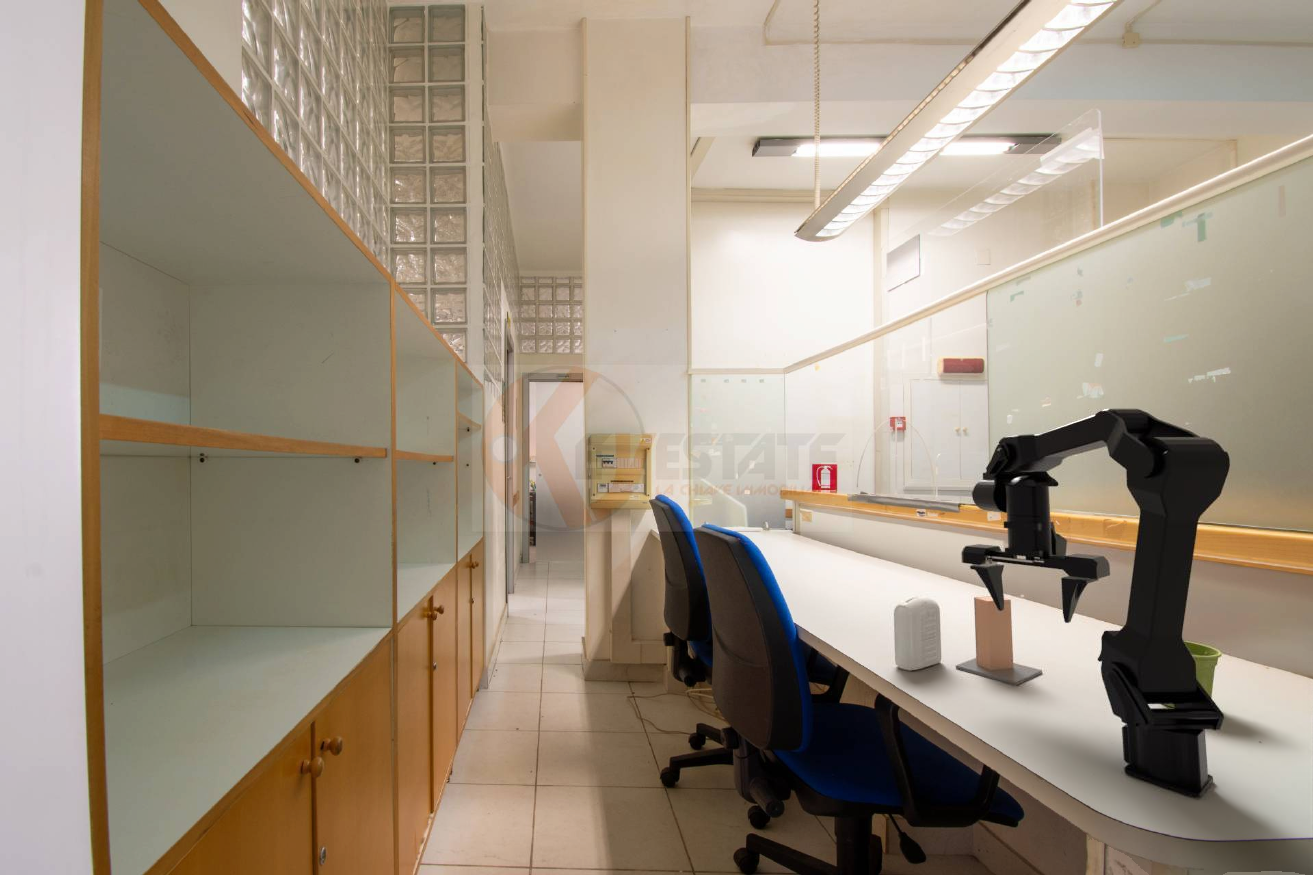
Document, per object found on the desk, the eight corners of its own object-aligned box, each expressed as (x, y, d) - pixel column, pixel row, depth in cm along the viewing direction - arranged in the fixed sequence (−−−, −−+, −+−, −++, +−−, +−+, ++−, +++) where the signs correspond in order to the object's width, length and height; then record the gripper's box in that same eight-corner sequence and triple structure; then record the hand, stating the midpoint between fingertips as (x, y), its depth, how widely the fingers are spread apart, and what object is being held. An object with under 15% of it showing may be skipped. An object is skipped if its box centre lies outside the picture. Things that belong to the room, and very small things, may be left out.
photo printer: (923, 656, 108) (921, 591, 109) (945, 662, 104) (942, 595, 105) (891, 666, 102) (889, 598, 103) (913, 673, 99) (910, 602, 99)
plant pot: (1197, 721, 79) (1193, 658, 80) (1126, 696, 88) (1122, 639, 89) (1242, 713, 82) (1237, 652, 82) (1168, 689, 91) (1164, 635, 91)
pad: (1042, 672, 99) (1041, 669, 99) (1016, 685, 93) (1016, 682, 93) (982, 657, 107) (982, 655, 107) (955, 668, 101) (955, 665, 101)
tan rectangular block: (1013, 667, 100) (1010, 599, 101) (990, 670, 99) (987, 601, 99) (999, 662, 103) (996, 595, 104) (976, 664, 102) (974, 597, 102)
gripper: (1119, 516, 85) (1126, 621, 84) (989, 510, 100) (993, 598, 99) (1092, 520, 79) (1098, 633, 77) (958, 512, 94) (961, 607, 93)
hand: (1032, 616), depth 87 cm, fingers open, 9 cm apart
